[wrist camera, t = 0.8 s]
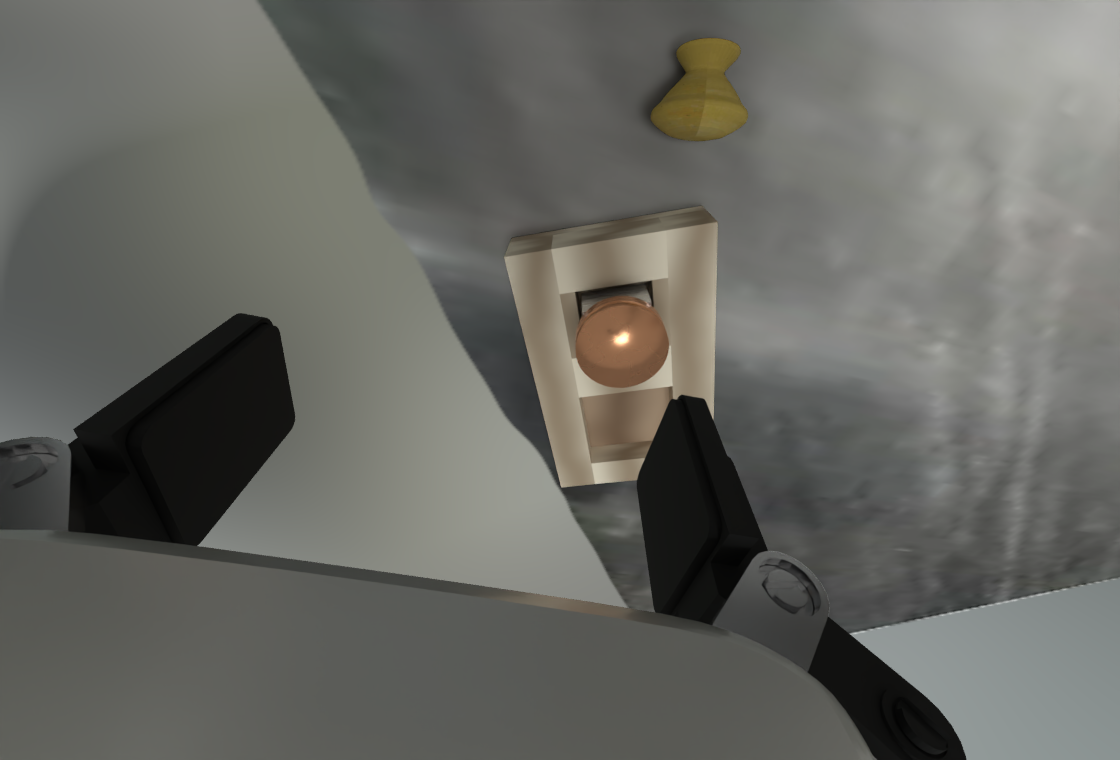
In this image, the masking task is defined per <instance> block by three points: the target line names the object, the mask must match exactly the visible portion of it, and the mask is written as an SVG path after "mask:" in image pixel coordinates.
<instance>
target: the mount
mask: <svg viewBox="0 0 1120 760" xmlns="http://www.w3.org/2000/svg"><path fill="white" fill-rule="evenodd" d="M717 234H718V222H717V221H716V220H715V219H714V218H713V217H712V216H711V214H710V213H709V212H708V211H707V210H706V209H705V208H704V207H703V206H697V207H691V208H685V209H679V210H674V211H668V212H662V213H656V214H650V215H644V216H638V217H632V218H626V219H621V220H615V221H609V222H603V223H597V224H591V225H585V226H579V227H573V228H567V229H562V230H556V231H550V232H544V233H538V234H532V235H526V236H520V237H514V238H511V241H510V243H509V246H508V248H507V251H506V253H505V256H504V259H505V263H506V267H507V271H508V275H509V279H510V283H511V287H512V291H513V295H514V299H515V303H516V307H517V311H518V315H519V319H520V323H521V327H522V331H523V335H524V339H525V343H526V347H527V351H528V355H529V359H530V363H531V367H532V371H533V375H534V379H535V383H536V387H537V391H538V395H539V399H540V403H541V407H542V411H543V415H544V419H545V423H546V427H547V432H548V436H549V440H550V444H551V448H552V452H553V456H554V460H555V464H556V468H557V472H558V476H559V480H560V484H561V487H569V486H579V485H589V484H599V483H610V482H620V481H630V480H637V478H638V474H639V471H640V469H641V466H642V464H643V462H644V459H645V457H646V455H647V452H648V450H649V448H650V445H651V443H652V441H653V438H654V436H655V434H656V432H657V429H658V427H659V425H660V422H661V420H662V418H663V415H664V413H665V411H666V408H667V406H668V404H669V402H670V400H671V399H677V398H678V397H679V396H680V395H687V396H692V397H698V398H703V399H705V401H706V403H707V405H708V408H709V410H710V413H711V416H712V418H713V416H714V371H715V325H716V279H717ZM644 283H645V284H646V287H647V290H648V293H649V296H650V299H651V304H652V307H654V308H655V310H656V311H657V312H658V313H659V315H660V316H661V319H662V321H663V323H664V326H665V329H666V332H667V335H668V339H669V351H668V355H667V358H666V361H665V363H664V364H663V366H662V367H661V369H660V370H659V371H658V372H657V373H656V374H655V375H654V376H653V377H651V378H650V379H649V380H647V381H645V382H643V383H641V384H638V385H635V386H632V387H626V388H613V387H608V386H604V385H601V384H599V383H597V382H595V381H593V380H592V379H590V378H589V377H588V376H587V375H586V374H585V373H584V372H583V371H582V369H581V368H580V366H579V364H578V362H577V358H576V329H577V326H578V323H579V321H580V319H581V317H582V316H583V315H582V293H585V292H592V291H598V290H605V289H611V288H618V287H625V286H631V285H638V284H644Z"/></svg>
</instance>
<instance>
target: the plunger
mask: <svg viewBox="0 0 1120 760" xmlns="http://www.w3.org/2000/svg"><path fill="white" fill-rule="evenodd" d="M582 315H583V316H582V317H581V319H580V321H579V323H578V326H577V329H576V358H577V362H578V364H579V366H580V368H581V369H582V371H583V372H584V373H585V374H586V375H587V376H588V377H589V378H590V379H592V380H593V381H595V382H597V383H599V384H601V385H604V386H608V387H613V388H626V387H632V386H635V385H638V384H641V383H643V382H645V381H647V380H649V379H650V378H651V377H653V376H654V375H655V374H656V373H657V372H658V371H659V370H660V369H661V367H662V366H663V364H664V363H665V361H666V358H667V355H668V351H669V339H668V335H667V332H666V329H665V326H664V323H663V321H662V319H661V316H660V315H659V313H658V312H657V311H656V310H655V308H654V307H652V304H651V299H650V296H649V293H648V290H647V287H646V284H645V283H644V284H638V285H631V286H625V287H618V288H611V289H605V290H598V291H592V292H585V293H582Z"/></svg>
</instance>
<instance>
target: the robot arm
mask: <svg viewBox="0 0 1120 760" xmlns="http://www.w3.org/2000/svg"><path fill="white" fill-rule="evenodd" d="M294 422H295V412H294V407H293V401H292V397H291V391H290V385H289V380H288V374H287V369H286V363H285V358H284V353H283V347H282V342H281V336H280V332H279V329H278V328H277V327H276V326H273V324H272V322H271V321H270V320H269V319H268V318H264V317H258V316H253V315H247V314H242V313H240V314H236V315H235V316H233V317H231V318H230V319H229V320H227V321H226V322H225V323H223V324H222V325H220V326H219V327H217V328H216V329H215V330H213V331H212V332H210V333H209V334H208V335H206V336H205V337H203V338H202V339H200V340H199V341H198V342H196V343H195V344H193V345H192V346H191V347H189V348H188V349H186V350H185V351H183V352H182V353H181V354H179V355H178V356H176V357H175V358H174V359H172V360H171V361H169V362H168V363H166V364H165V365H164V366H162V367H161V368H159V369H158V370H157V371H155V372H154V373H152V374H151V375H150V376H148V377H147V378H145V379H144V380H142V381H141V382H140V383H138V384H137V385H135V386H134V387H133V388H131V389H130V390H128V391H127V392H126V393H124V394H123V395H121V396H120V397H119V398H117V399H116V400H114V401H113V402H112V403H110V404H109V405H107V406H106V407H104V408H103V409H101V410H100V411H99V412H97V413H96V414H94V415H93V416H92V417H90V418H89V419H87V420H86V421H85V422H83V423H82V424H80V425H79V426H77V427H76V428H75V429H74V432H75V433H76V435H77V437H78V438H77V439H75V440H74V441H73V442H71V443H70V444H68V445H67V444H65V443H64V442H62V441H61V440H58V439H53V438H49V437H28V438H20V439H13V440H9V441H5V442H1V443H0V760H966V756H965V753H964V750H963V747H962V744H961V741H960V740H959V738H958V736H957V734H956V733H955V731H954V729H953V727H952V725H951V724H950V723H949V722H948V720H947V719H946V718H945V716H944V715H943V714H942V713H941V711H940V710H939V709H938V708H937V707H936V706H935V705H934V704H933V703H932V702H930V700H929V699H928V698H926V697H925V696H924V695H923V694H922V693H921V692H919V691H918V690H917V689H916V688H914V687H913V686H912V685H911V684H910V683H908V682H907V681H906V680H905V679H903V678H902V677H901V676H900V675H898V674H897V673H896V672H895V671H894V670H893V669H891V668H890V667H889V666H888V665H887V664H885V663H884V662H883V661H882V660H880V659H879V658H878V657H877V656H876V655H874V654H873V653H872V652H870V651H869V650H868V649H867V648H866V647H865V646H863V645H862V644H861V643H860V642H858V641H857V640H856V639H855V638H854V637H852V636H851V635H850V634H849V633H848V632H846V631H845V630H844V629H843V628H841V627H840V626H839V625H838V624H837V623H835V622H834V621H833V620H832V619H830V618H829V617H828V615H829V607H830V604H829V600H828V597H827V593H826V591H825V590H824V588H823V586H822V584H821V582H820V581H819V580H818V579H817V578H816V576H815V575H814V574H813V573H812V572H811V571H810V570H809V569H808V568H807V567H805V566H804V565H803V564H802V563H801V562H799V561H797V560H796V559H794V558H792V557H791V556H789V555H786V554H783V553H780V552H776V551H768V550H767V547H766V544H765V542H764V539H763V537H762V534H761V532H760V529H759V527H758V524H757V522H756V519H755V517H754V514H753V512H752V509H751V507H750V504H749V501H748V499H747V496H746V494H745V491H744V489H743V486H742V484H741V481H740V479H739V476H738V474H737V471H736V469H735V466H734V463H733V462H732V460H731V458H729V457H728V456H727V454H726V452H725V449H724V447H723V444H722V441H721V439H720V436H719V434H718V431H717V429H716V426H715V423H714V421H713V418H712V416H711V413H710V410H709V408H708V405H707V403H706V401H705V399H703V398H698V397H692V396H687V395H680V396H679V397H678V398H677V399H671V400H670V402H669V404H668V406H667V408H666V411H665V413H664V415H663V418H662V420H661V422H660V425H659V427H658V429H657V432H656V434H655V436H654V438H653V441H652V443H651V445H650V448H649V450H648V452H647V455H646V457H645V459H644V462H643V464H642V466H641V469H640V471H639V474H638V478H637V491H638V498H639V505H640V513H641V520H642V527H643V534H644V541H645V548H646V555H647V562H648V570H649V577H650V584H651V591H652V598H653V605H654V610H655V612H656V613H654V612H648V611H642V610H636V609H630V608H624V607H618V606H611V605H605V604H599V603H594V602H587V601H581V600H574V599H567V598H560V597H552V596H547V595H540V594H533V593H525V592H519V591H513V590H506V589H499V588H492V587H485V586H479V585H471V584H464V583H458V582H451V581H444V580H437V579H430V578H423V577H416V576H409V575H402V574H395V573H388V572H380V571H373V570H366V569H359V568H352V567H345V566H338V565H331V564H324V563H317V562H308V561H302V560H294V559H287V558H280V557H273V556H264V555H258V554H250V553H243V552H236V551H229V550H221V549H214V548H206V547H199V546H197V545H199V544H200V543H201V541H202V540H203V539H204V538H205V537H206V535H207V534H208V533H209V531H210V530H211V529H212V528H213V527H214V525H215V524H216V523H217V522H218V520H219V519H220V518H221V517H222V515H223V514H224V513H225V512H226V510H227V509H228V508H229V507H230V505H231V504H232V503H233V502H234V500H235V499H236V498H237V497H238V495H239V494H240V493H241V492H242V490H243V489H244V488H245V487H246V486H247V484H248V483H249V482H250V481H251V479H252V478H253V477H254V475H255V474H256V473H257V472H258V471H259V469H260V468H261V467H262V466H263V464H264V463H265V462H266V460H267V459H268V458H269V457H270V456H271V454H272V453H273V452H274V451H275V449H276V448H277V447H278V446H279V444H280V443H281V442H282V441H283V439H284V438H285V437H286V436H287V434H288V433H289V432H290V431H291V429H292V427H293V425H294Z"/></svg>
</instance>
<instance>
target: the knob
mask: <svg viewBox="0 0 1120 760" xmlns="http://www.w3.org/2000/svg"><path fill="white" fill-rule="evenodd" d="M740 53H741V50H740V47H739V45H737V44H736V43H734V42H732V41H729V40H725V39H719V38H703V39H697V40H692V41H689V42H686V43H684V44H683V45H681V46H680V47H679V48H678V50H677V52H676V55H677V59H678V60H679V62H680V64H681V65H682V67H683V68H684V70H685V72H686V74H685V75H684V76H683V78H682V79H681V80H680V81H679V82H678V83H677V84H676V85H675V86H674V87H673V88H672V89H671V90H670V91H669V92H668V93H667V94H666V96H665V97H664V98H663V100H662V101H661V102H660V103H659V104H658V105H657V106H656V107H655V108H654V109H653V110H652V113H651V121H652V122H653V124H654V125H655V126H656V127H657V128H658V129H660V130H661V131H662V132H664V133H665V134H667V135H668V136H671V137H673V138H677V139H682V140H688V141H707V140H713V139H719V138H722V137H724V136H726V135H728V134H730V133H732V132H734V131H736V130H737V129H739V128H740V127H741V126H742V125H744V124H745V123H746V121H747V118H748V112H747V110H746V108H745V107H744V106H743V105H742V103H741V101H740V99H739V97H738V95H737V93H736V91H735V90H734V88H733V87H732V85H731V84H730V82H729V81H728V80H727V78H726V76H725V75H724V73H725V71H726V70H727V69H728V68H729V67H730V66H731V65H732V64H733V63H734V62H735V61H736V60H737V58H738V57H739V55H740Z"/></svg>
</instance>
